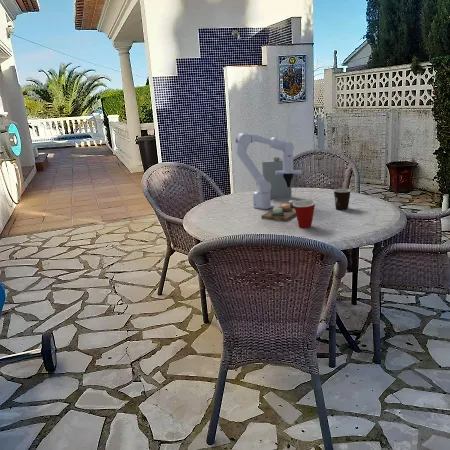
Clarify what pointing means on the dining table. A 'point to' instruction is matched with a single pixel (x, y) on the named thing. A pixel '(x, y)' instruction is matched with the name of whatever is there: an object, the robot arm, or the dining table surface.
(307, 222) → the plastic cup
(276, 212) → the sage button
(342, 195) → the coffee mug
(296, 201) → the slate button
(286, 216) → the button board
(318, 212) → the dining table surface
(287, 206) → the terracotta button
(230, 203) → the dining table surface
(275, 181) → the grey upright box
